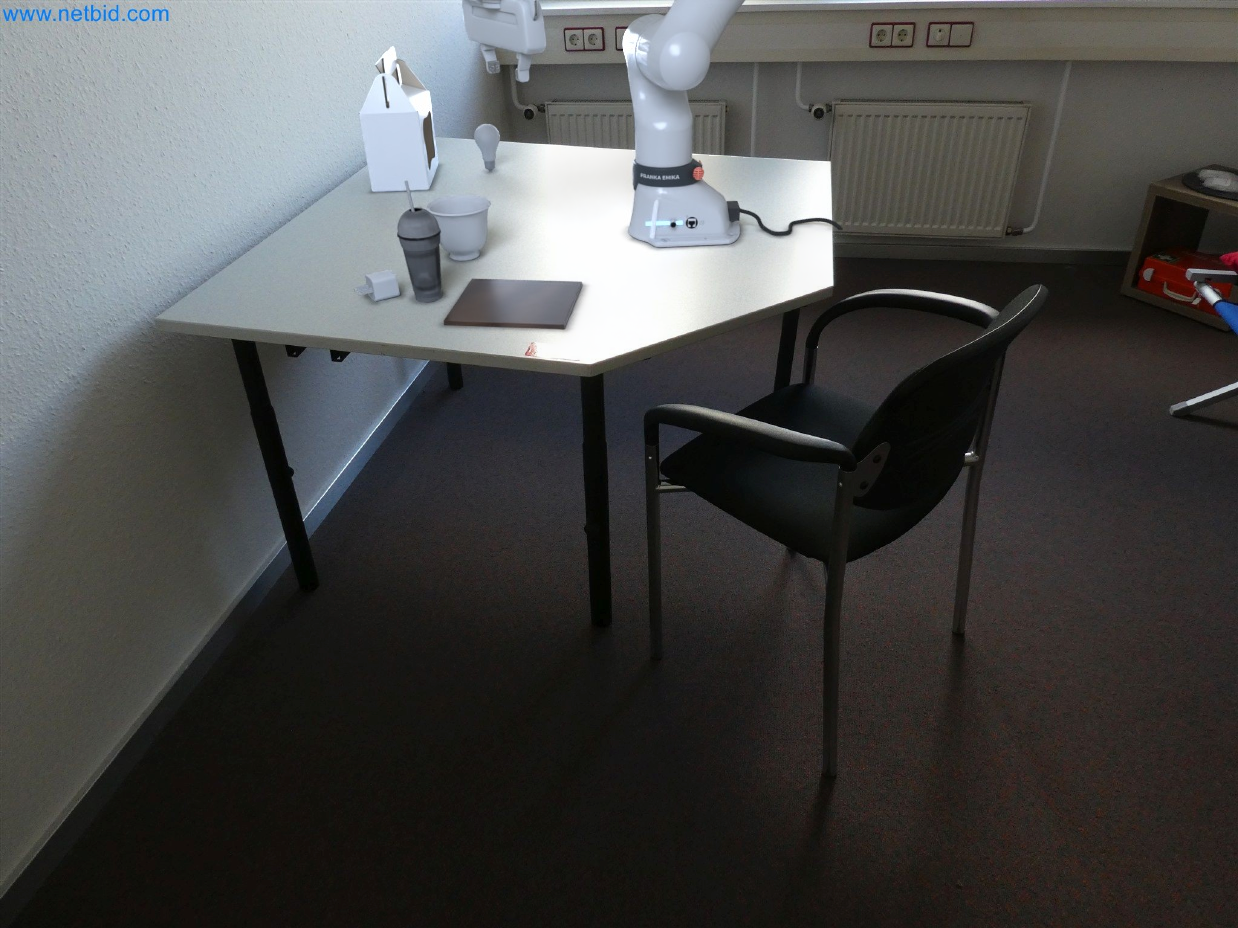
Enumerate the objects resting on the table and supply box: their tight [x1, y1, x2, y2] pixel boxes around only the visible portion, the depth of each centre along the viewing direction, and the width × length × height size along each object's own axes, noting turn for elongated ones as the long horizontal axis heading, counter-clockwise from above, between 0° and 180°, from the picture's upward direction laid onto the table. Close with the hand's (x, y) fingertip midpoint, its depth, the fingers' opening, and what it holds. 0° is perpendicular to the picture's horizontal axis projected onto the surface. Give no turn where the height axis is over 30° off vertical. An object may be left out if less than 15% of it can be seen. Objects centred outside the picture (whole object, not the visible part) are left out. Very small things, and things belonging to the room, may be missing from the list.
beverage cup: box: [396, 181, 443, 303], centre depth 152 cm, size 7×7×20 cm
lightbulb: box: [474, 123, 501, 172], centre depth 219 cm, size 6×6×11 cm
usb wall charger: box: [353, 268, 400, 303], centre depth 156 cm, size 4×7×4 cm, turn 123°
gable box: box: [358, 46, 440, 193], centre depth 210 cm, size 22×13×28 cm, turn 4°
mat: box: [443, 278, 583, 330], centre depth 154 cm, size 20×18×1 cm
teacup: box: [425, 194, 492, 262], centre depth 170 cm, size 12×15×10 cm
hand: (507, 77), depth 149 cm, fingers open, 8 cm apart
